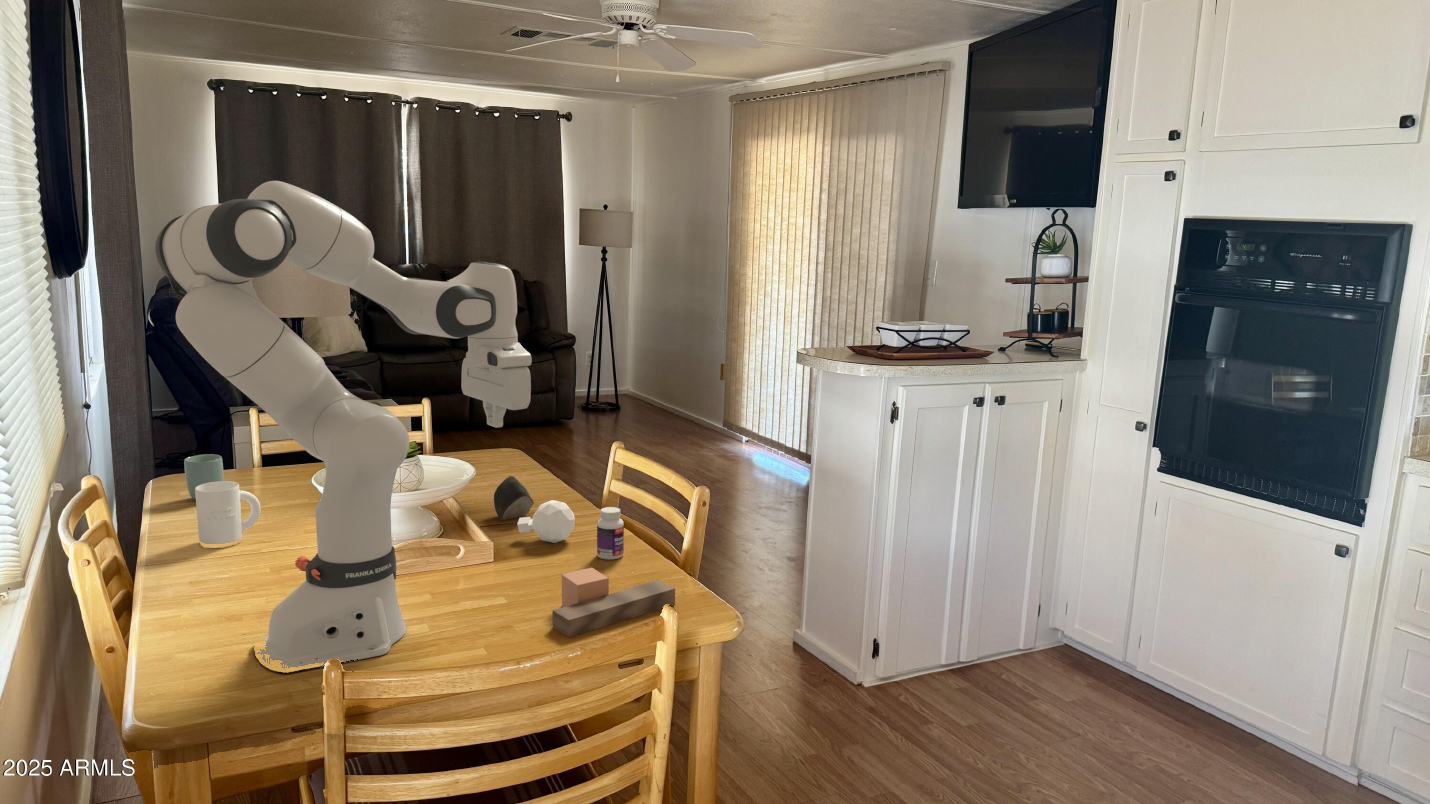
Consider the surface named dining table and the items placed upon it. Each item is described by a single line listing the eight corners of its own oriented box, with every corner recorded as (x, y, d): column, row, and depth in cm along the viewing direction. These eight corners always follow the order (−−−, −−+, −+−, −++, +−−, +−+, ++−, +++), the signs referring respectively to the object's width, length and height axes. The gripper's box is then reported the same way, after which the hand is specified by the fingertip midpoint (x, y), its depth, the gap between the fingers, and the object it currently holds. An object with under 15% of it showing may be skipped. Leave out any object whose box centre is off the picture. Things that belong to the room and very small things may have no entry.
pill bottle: (619, 561, 186) (619, 514, 185) (593, 558, 187) (593, 512, 186) (627, 552, 192) (627, 506, 190) (602, 550, 193) (601, 504, 191)
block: (577, 618, 159) (577, 585, 158) (562, 606, 164) (561, 574, 163) (608, 610, 163) (608, 577, 162) (592, 599, 168) (592, 567, 167)
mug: (269, 539, 195) (265, 484, 192) (206, 552, 187) (201, 494, 184) (256, 529, 201) (252, 475, 198) (194, 541, 193) (190, 485, 190)
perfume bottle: (582, 525, 202) (528, 529, 203) (574, 490, 198) (519, 494, 199) (575, 549, 195) (519, 554, 196) (567, 514, 190) (510, 518, 191)
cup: (231, 497, 223) (228, 457, 221) (199, 505, 216) (195, 463, 214) (213, 492, 227) (210, 452, 225) (181, 500, 220) (177, 459, 218)
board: (568, 637, 152) (568, 620, 151) (552, 627, 155) (552, 610, 155) (675, 604, 166) (675, 588, 165) (657, 595, 170) (658, 579, 169)
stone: (500, 527, 212) (503, 501, 205) (486, 502, 216) (489, 476, 208) (533, 515, 216) (537, 490, 209) (518, 491, 220) (522, 465, 213)
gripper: (451, 346, 175) (454, 418, 178) (504, 359, 160) (506, 438, 163) (482, 344, 179) (484, 414, 182) (536, 357, 164) (537, 433, 167)
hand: (495, 426), depth 172 cm, fingers closed
